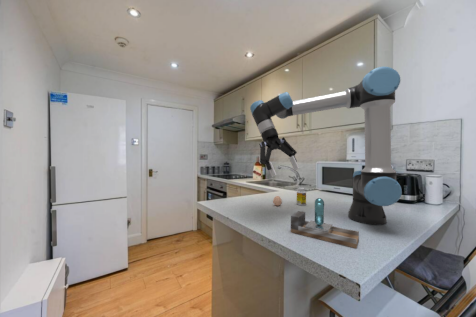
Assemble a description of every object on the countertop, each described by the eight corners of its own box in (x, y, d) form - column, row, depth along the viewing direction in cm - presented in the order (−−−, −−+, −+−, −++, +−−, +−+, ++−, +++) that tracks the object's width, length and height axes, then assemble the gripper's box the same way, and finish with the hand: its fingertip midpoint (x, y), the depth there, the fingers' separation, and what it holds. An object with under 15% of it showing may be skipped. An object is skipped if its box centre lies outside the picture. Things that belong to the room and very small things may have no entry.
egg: (276, 204, 120) (276, 194, 120) (283, 205, 117) (283, 196, 117) (271, 205, 117) (271, 195, 117) (278, 207, 113) (278, 197, 113)
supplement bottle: (302, 206, 116) (302, 189, 116) (294, 204, 121) (294, 187, 121) (307, 204, 119) (308, 188, 119) (300, 203, 124) (300, 187, 124)
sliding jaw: (305, 230, 73) (305, 198, 73) (310, 225, 79) (311, 195, 79) (328, 235, 68) (328, 201, 68) (332, 229, 74) (332, 198, 74)
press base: (290, 232, 76) (290, 215, 76) (298, 226, 82) (298, 211, 82) (356, 248, 63) (356, 228, 63) (358, 239, 69) (359, 221, 69)
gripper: (283, 132, 101) (300, 169, 96) (242, 138, 89) (259, 182, 84) (291, 124, 95) (310, 164, 89) (249, 130, 83) (268, 176, 77)
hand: (286, 172), depth 86 cm, fingers open, 13 cm apart
